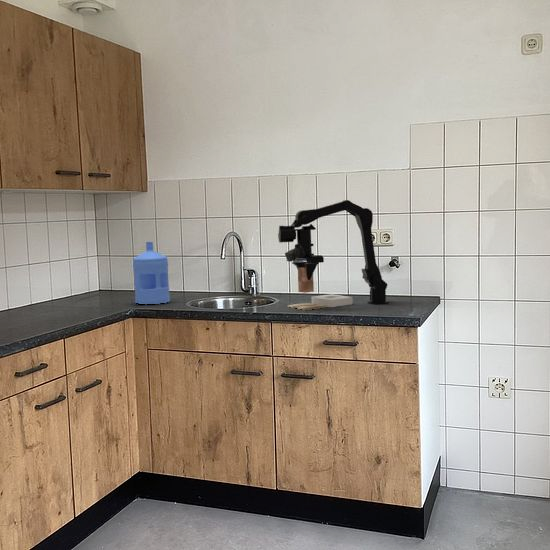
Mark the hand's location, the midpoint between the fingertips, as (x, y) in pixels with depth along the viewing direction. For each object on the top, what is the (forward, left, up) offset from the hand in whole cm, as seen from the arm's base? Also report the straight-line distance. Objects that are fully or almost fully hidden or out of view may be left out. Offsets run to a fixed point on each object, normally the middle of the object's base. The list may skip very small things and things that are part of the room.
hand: (305, 279), depth 271 cm
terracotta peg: (0, 0, -5) cm, 5 cm away
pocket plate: (0, -13, -12) cm, 17 cm away
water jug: (+63, +42, -12) cm, 77 cm away
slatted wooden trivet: (0, 0, -12) cm, 12 cm away
